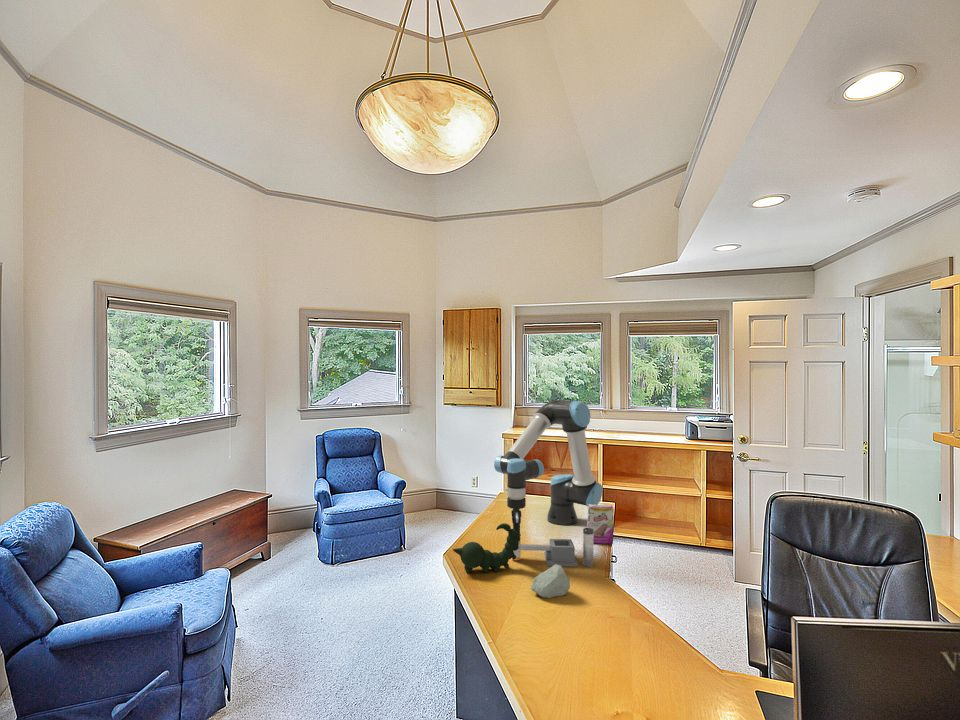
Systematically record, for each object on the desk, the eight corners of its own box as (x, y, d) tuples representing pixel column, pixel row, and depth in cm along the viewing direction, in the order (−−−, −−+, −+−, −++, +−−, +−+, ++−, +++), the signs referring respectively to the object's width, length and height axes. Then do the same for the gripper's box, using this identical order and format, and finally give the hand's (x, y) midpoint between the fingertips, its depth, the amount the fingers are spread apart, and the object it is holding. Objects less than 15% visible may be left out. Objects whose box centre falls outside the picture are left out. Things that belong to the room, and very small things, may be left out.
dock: (544, 554, 205) (544, 537, 205) (573, 554, 205) (573, 538, 205) (547, 566, 193) (547, 548, 193) (577, 566, 193) (577, 548, 193)
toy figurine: (510, 567, 196) (449, 566, 191) (514, 520, 196) (453, 518, 192) (516, 577, 187) (452, 576, 182) (521, 527, 187) (457, 525, 182)
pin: (512, 557, 201) (512, 531, 201) (551, 557, 201) (551, 532, 201) (512, 560, 198) (512, 534, 198) (552, 560, 198) (552, 535, 198)
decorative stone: (570, 586, 175) (554, 561, 178) (577, 588, 165) (560, 561, 168) (541, 608, 172) (525, 582, 175) (547, 612, 162) (530, 584, 165)
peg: (582, 562, 197) (582, 527, 197) (592, 562, 197) (592, 527, 197) (584, 566, 193) (584, 531, 193) (594, 566, 193) (594, 531, 193)
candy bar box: (588, 543, 217) (588, 507, 218) (586, 539, 222) (586, 503, 223) (613, 544, 216) (613, 507, 216) (611, 540, 221) (611, 504, 221)
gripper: (506, 491, 208) (506, 546, 208) (507, 502, 192) (507, 562, 192) (524, 492, 208) (524, 547, 208) (526, 503, 192) (526, 562, 191)
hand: (516, 554), depth 200 cm, fingers closed on pin, 3 cm apart
